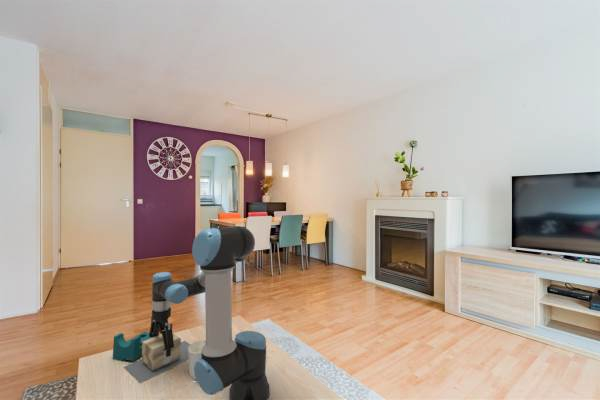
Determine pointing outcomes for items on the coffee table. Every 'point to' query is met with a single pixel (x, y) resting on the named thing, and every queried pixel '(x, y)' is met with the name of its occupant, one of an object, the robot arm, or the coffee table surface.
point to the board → (145, 373)
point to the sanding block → (158, 351)
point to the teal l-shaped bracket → (128, 347)
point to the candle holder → (194, 355)
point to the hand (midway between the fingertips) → (160, 358)
